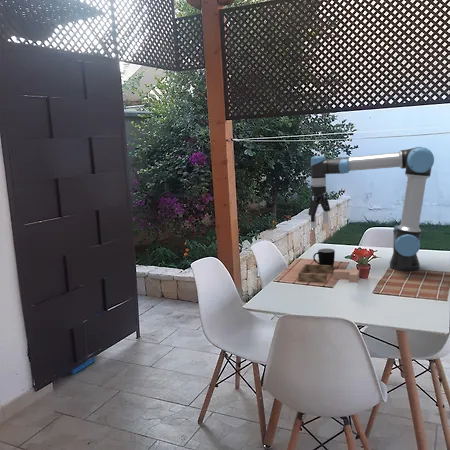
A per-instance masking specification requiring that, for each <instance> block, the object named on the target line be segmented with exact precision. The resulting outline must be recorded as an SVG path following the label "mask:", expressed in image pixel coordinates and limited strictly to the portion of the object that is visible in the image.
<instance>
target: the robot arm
mask: <svg viewBox="0 0 450 450" xmlns="http://www.w3.org/2000/svg"><path fill="white" fill-rule="evenodd" d="M434 164H435V156H434V154H433V152H432V151H431V149H428V148H426V147H423V146H415V147H412V148H409V149H401V150H399V151H398V152H388V153H379V154H369V155H368V154H367V155H355V156H346V157H342V156H340V157H337V158H336V157H335V159H333V158H332V159H326V156H324V155H317V156H316V155H315V156H312V157H311V159H310V178H311V179H310V181H311V193H312V194H313V196H311V197H310V202H309V209H308V213H307V214H308V216H310V228H311V229H317V215H316V213H317V212H318V208H319V206H321V209H322V210H323V211H322V223H323V224H329V212H330V211H331V208H330V204H329V203H330V202H329V199H328V193H327V186H326V185H327V175H333V174H334V175H339V174H341V175H343V174H349V173H350V172H352V171H353V172H354V171H355V172H356V171H364V170H365V171H367V170H376V169H377V170H378V169H389V168H391V169H392V168H399V169H405V172H404V175H405V176H406V177H407V181H406V188H405V192H404V193H405V195H404V201H403V207H402V213H401V219H400V224H399V225H394V227H393V230H392V231H393V243H392V244H393V249H392V250H393V251H392V252H393V253H392V256H391V258H390V262H389V268H390V269H392V270H395V271H401V272H404V271H405V272H410V271H411V272H412V271H418V270H419V269H421V268H420V266H421V265H420V264H421V263H420V262H419V258H418V255H417V254H418V252H419V250H420V249H421V242H420V241H421V236H422V235H421V234H422V229H421V228H420V221H421V216H422V215H421V214H422V208H423V202H424V195H425V189H426V183H427V179H429V178H430V177H431V173H432V168H433V166H434Z"/></svg>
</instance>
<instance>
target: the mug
mask: <svg viewBox="0 0 450 450" xmlns="http://www.w3.org/2000/svg"><path fill="white" fill-rule="evenodd" d="M335 254H336V252H335V249H334V248H320V249H319V248H318V251H317V252H316V253H314V254H313V256H312V259H313V261H314V263H316V265H332V269H333V268H334V264H335V256H336V255H335ZM317 255H318V261H317V260H316V256H317Z"/></svg>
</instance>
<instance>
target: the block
mask: <svg viewBox="0 0 450 450" xmlns="http://www.w3.org/2000/svg"><path fill="white" fill-rule="evenodd" d="M359 279H360V269H359V270H357V267H351V268H350V269H334V270H333V280H347V281H348V282H349V283H355V284H356V283H358V282H359Z"/></svg>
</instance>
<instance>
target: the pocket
mask: <svg viewBox="0 0 450 450" xmlns="http://www.w3.org/2000/svg"><path fill="white" fill-rule="evenodd" d="M332 273H333V268H332V265H319V264H310V263H309V264H307V263H306V264H304V265H303V267H302V268H301V269H300V271H299V272H298V273H297V274H298V282H306V283H323V284H324V283H325V284H326V283H328V274H332Z"/></svg>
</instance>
